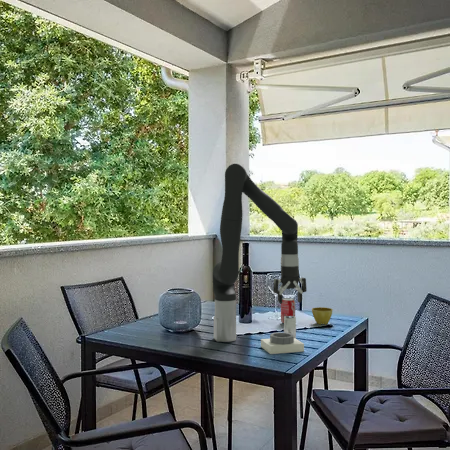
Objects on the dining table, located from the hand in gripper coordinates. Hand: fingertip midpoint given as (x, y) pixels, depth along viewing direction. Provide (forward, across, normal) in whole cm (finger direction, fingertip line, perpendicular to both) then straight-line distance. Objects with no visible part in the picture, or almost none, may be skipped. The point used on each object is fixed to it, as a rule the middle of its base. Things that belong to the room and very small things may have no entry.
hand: (290, 302), depth 201 cm
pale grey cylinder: (+16, 0, 0) cm, 16 cm away
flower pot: (+17, +28, +26) cm, 41 cm away
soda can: (+16, +12, +31) cm, 37 cm away
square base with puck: (+16, -8, -11) cm, 21 cm away
